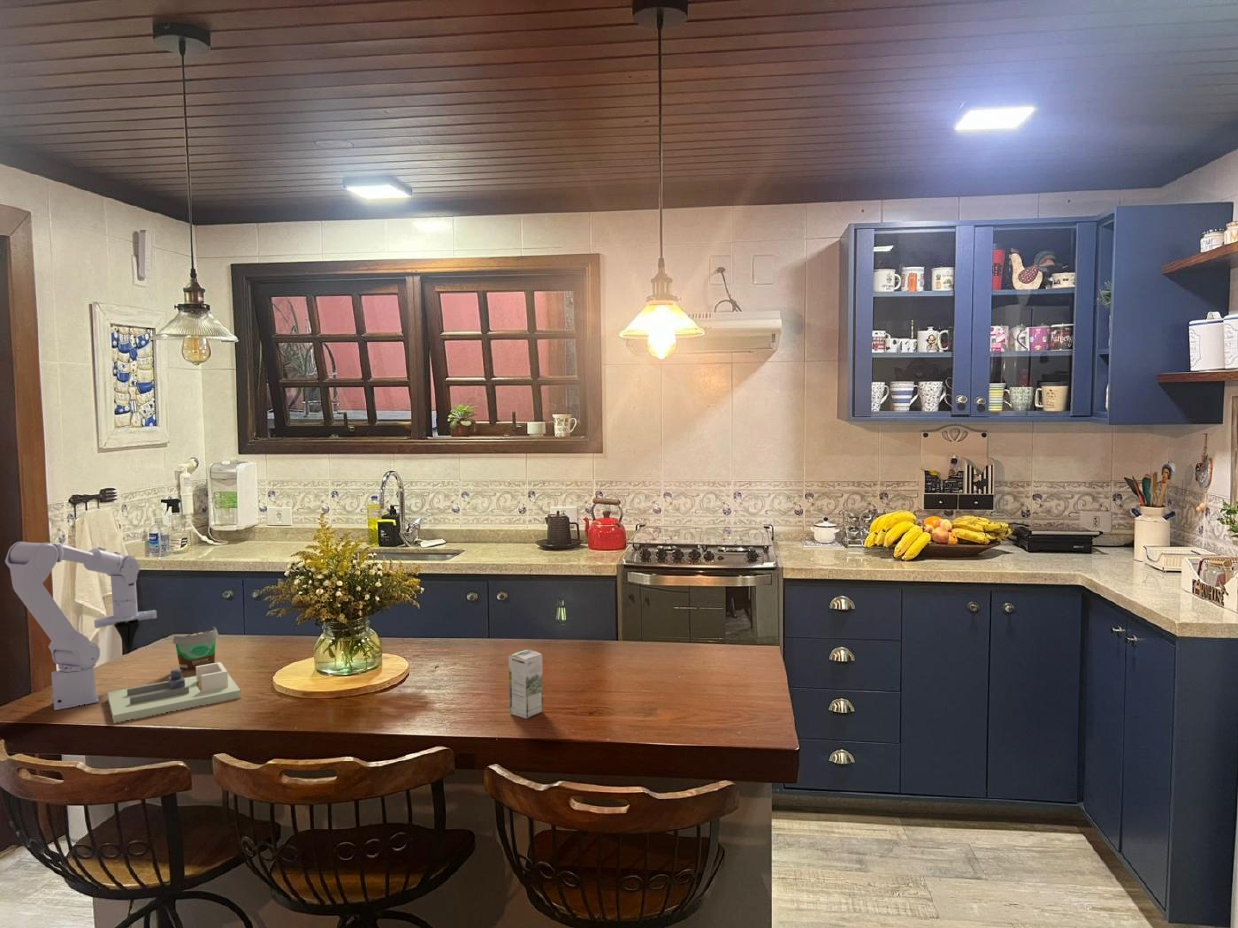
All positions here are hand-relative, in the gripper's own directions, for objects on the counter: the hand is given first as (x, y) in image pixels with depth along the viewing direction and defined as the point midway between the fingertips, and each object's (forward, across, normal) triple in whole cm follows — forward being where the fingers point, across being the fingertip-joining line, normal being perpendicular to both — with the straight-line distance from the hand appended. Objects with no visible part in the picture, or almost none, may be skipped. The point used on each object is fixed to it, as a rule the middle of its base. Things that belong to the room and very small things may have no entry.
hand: (128, 648), depth 230 cm
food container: (+10, +18, +1) cm, 21 cm away
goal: (+7, +14, -24) cm, 28 cm away
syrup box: (+10, +64, -95) cm, 115 cm away
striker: (+7, +6, -23) cm, 25 cm away
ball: (+8, +13, -24) cm, 28 cm away
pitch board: (+9, +5, -23) cm, 25 cm away
